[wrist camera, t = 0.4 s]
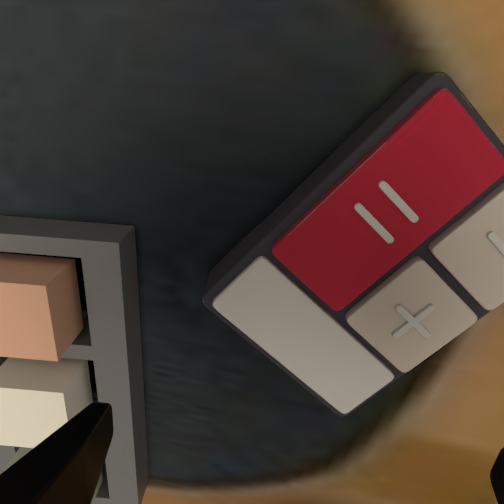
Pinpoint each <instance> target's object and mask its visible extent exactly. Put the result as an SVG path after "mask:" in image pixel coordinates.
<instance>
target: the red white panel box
mask: <svg viewBox="0 0 504 504" xmlns="http://www.w3.org/2000/svg"><path fill="white" fill-rule="evenodd" d="M503 302H504V145H503V143H502V142H501V141H500V140H499V138H498V137H497V136H496V135H495V133H494V132H493V131H492V130H491V128H490V127H489V126H488V125H487V123H486V122H485V121H484V120H483V118H482V117H481V116H480V115H479V113H478V112H477V111H476V109H475V108H474V107H473V106H472V104H471V103H470V102H469V101H468V99H467V98H466V97H465V96H464V94H463V93H462V92H461V91H460V89H459V88H458V87H457V86H456V84H455V83H454V82H453V81H452V79H451V78H450V77H449V76H448V75H447V74H446V73H444V72H433V73H425V74H417V75H414V76H412V77H411V78H410V79H409V80H407V81H406V82H405V83H404V84H403V85H402V86H401V87H400V88H399V89H398V90H397V91H396V92H395V93H394V94H393V95H392V96H391V97H390V98H389V99H388V100H387V101H386V102H385V103H384V104H382V105H381V106H380V107H379V108H378V109H377V110H376V111H375V112H374V113H373V114H372V115H371V116H370V117H369V118H368V119H367V120H366V121H365V122H364V123H363V124H362V125H361V126H360V127H359V128H358V129H357V130H356V131H354V132H353V133H352V134H351V135H350V136H349V137H348V138H347V139H346V140H345V141H344V142H343V143H342V144H341V145H340V146H339V147H338V148H337V149H336V150H335V151H334V152H333V153H332V154H331V155H330V156H329V157H328V158H327V159H326V160H325V161H324V162H323V163H322V164H321V165H320V166H319V167H318V168H317V169H316V170H315V171H314V172H313V173H311V174H310V175H309V176H308V177H307V178H306V179H305V180H304V181H303V182H302V183H301V184H300V185H299V186H298V187H297V188H296V189H295V190H294V191H293V192H292V193H291V194H290V195H289V196H288V197H287V198H286V199H285V200H284V201H283V202H282V203H281V204H280V205H279V206H278V207H277V208H276V209H275V210H274V211H273V212H272V213H271V214H270V215H269V216H268V217H267V218H266V219H265V220H264V221H263V222H261V223H260V224H259V225H257V226H256V227H255V228H254V229H253V230H252V231H251V232H250V233H248V234H247V235H246V236H245V237H244V238H243V239H242V240H241V241H240V242H239V243H238V244H237V245H236V246H235V247H234V248H233V249H232V250H231V251H230V252H229V253H228V254H227V255H226V256H225V257H224V258H223V259H222V260H220V261H219V262H218V263H217V264H216V265H215V266H214V267H213V268H212V269H211V271H210V273H209V276H208V279H207V283H206V287H205V290H204V294H203V298H202V303H203V305H204V306H205V307H206V308H207V309H208V310H210V311H211V312H212V313H213V314H214V315H216V316H217V317H218V318H219V319H221V320H222V321H223V322H224V323H225V324H227V325H228V326H229V327H230V328H232V329H233V330H234V331H235V332H236V333H238V334H239V335H240V336H241V337H243V338H244V339H245V340H246V341H247V342H249V343H250V344H251V345H252V346H254V347H255V348H256V349H257V350H258V351H260V352H261V353H262V354H263V355H265V356H266V357H267V358H268V359H269V360H271V361H272V362H273V363H274V364H275V365H277V366H278V367H279V368H280V369H282V370H283V371H284V372H285V373H286V374H288V375H289V376H290V377H291V378H293V379H294V380H295V381H296V382H297V383H299V384H300V385H301V386H302V387H304V388H305V389H306V390H307V391H308V392H310V393H311V394H312V395H313V396H315V397H316V398H317V399H318V400H319V401H321V402H322V403H323V404H324V405H326V406H327V407H328V408H329V409H330V410H332V411H333V412H334V413H335V414H337V415H338V416H347V415H348V414H350V413H351V412H353V411H354V410H355V409H357V408H358V407H359V406H361V405H362V404H364V403H365V402H366V401H368V400H369V399H370V398H372V397H373V396H375V395H376V394H377V393H379V392H380V391H381V390H383V389H384V388H386V387H387V386H388V385H390V384H391V383H392V382H394V381H395V380H396V379H398V378H399V377H401V376H402V375H403V374H405V373H406V372H408V371H410V370H411V369H412V368H414V367H415V366H417V365H418V364H419V363H421V362H422V361H423V360H425V359H426V358H428V357H429V356H430V355H432V354H433V353H434V352H436V351H437V350H439V349H440V348H441V347H443V346H444V345H445V344H447V343H448V342H449V341H451V340H452V339H454V338H455V337H456V336H458V335H459V334H460V333H462V332H463V331H465V330H466V329H467V328H469V327H470V326H471V325H473V324H474V323H475V322H476V321H477V320H479V319H480V318H481V317H483V316H484V315H486V314H487V313H488V312H490V311H491V310H493V309H494V308H496V307H497V306H499V305H500V304H502V303H503Z"/></svg>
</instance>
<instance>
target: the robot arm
mask: <svg viewBox="0 0 504 504" xmlns="http://www.w3.org/2000/svg"><path fill="white" fill-rule="evenodd" d="M112 437H113V413H112V406H111V404H109V403H104V402H93V403H91V404H89V405H88V406H87V407H85V408H84V409H83V410H82V411H80V412H79V413H78V414H76V415H75V416H74V417H73V418H71V419H70V420H69V421H68V422H66V423H65V424H64V425H62V426H61V427H60V428H59V429H57V430H56V431H55V432H53V433H52V434H51V435H50V436H48V437H47V438H46V439H45V440H43V441H42V442H41V443H39V444H38V445H37V446H36V447H34V448H33V449H32V450H30V451H29V452H28V453H27V454H25V455H24V456H23V457H22V458H20V459H19V460H18V461H16V462H15V463H14V464H13V465H11V466H10V467H9V468H7V469H6V470H5V471H4V472H2V473H1V474H0V504H91V501H92V498H93V496H94V492H95V489H96V486H97V483H98V480H99V477H100V474H101V471H102V468H103V465H104V462H105V459H106V456H107V453H108V450H109V447H110V444H111V441H112ZM490 479H491V484H492V487H493V490H494V493H495V496H496V499H497V502H498V504H504V448H502V449H501V450H500V452H499V454H498V457H497V459H496V461H495V463H494V465H493V467H492V469H491V473H490Z"/></svg>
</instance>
